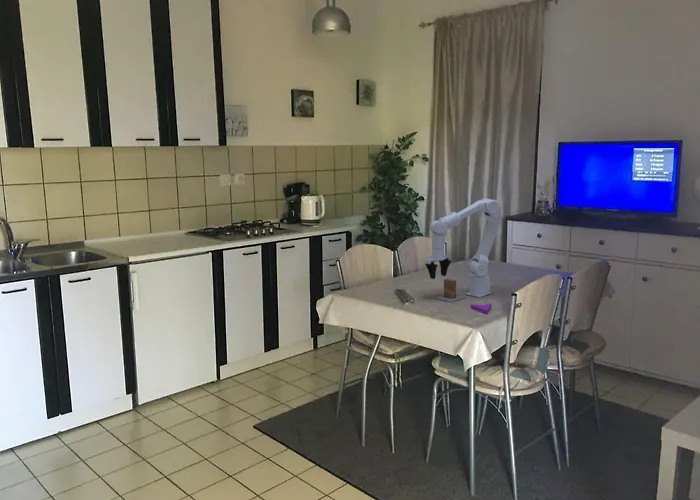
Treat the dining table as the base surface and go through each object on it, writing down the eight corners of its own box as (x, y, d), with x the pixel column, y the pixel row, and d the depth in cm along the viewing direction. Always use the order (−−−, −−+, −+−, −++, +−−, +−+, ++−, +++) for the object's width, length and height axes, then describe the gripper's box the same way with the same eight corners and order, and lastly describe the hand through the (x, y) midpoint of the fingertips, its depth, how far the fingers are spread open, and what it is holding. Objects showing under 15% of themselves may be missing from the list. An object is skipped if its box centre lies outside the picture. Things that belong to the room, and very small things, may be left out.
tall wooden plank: (447, 295, 266) (447, 278, 265) (456, 297, 262) (456, 280, 261) (443, 296, 265) (443, 279, 263) (452, 299, 261) (452, 281, 259)
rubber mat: (447, 294, 271) (447, 293, 271) (465, 298, 263) (465, 297, 263) (433, 298, 264) (433, 297, 264) (451, 302, 257) (451, 301, 257)
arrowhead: (478, 301, 252) (499, 305, 246) (478, 304, 253) (499, 308, 246) (465, 306, 245) (487, 310, 238) (465, 309, 246) (486, 314, 239)
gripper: (441, 244, 270) (441, 273, 272) (420, 248, 260) (420, 278, 263) (453, 246, 264) (453, 275, 267) (433, 250, 255) (433, 281, 257)
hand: (438, 277), depth 264 cm, fingers open, 7 cm apart
